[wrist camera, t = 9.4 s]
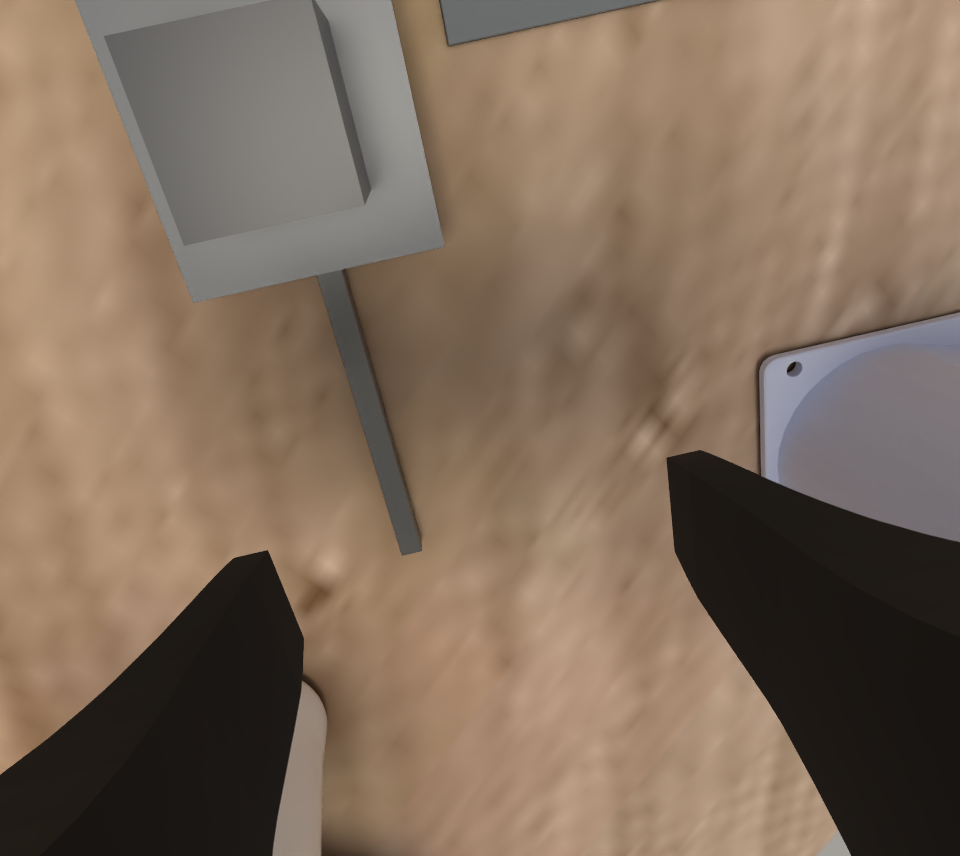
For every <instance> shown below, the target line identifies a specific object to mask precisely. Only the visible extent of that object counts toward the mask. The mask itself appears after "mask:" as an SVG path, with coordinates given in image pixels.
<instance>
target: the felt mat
mask: <svg viewBox="0 0 960 856" xmlns="http://www.w3.org/2000/svg"><path fill="white" fill-rule="evenodd" d="M439 1H440V7H441V12H442V17H443V22H444V28H445V33H446V38H447V43H448V46H453V45H458V44H462V43H467V42H471V41H476V40H481V39H485V38H490V37H494V36H499V35H503V34H508V33H513V32H517V31H522V30H526V29H531V28H536V27H540V26H545V25H549V24H554V23H559V22H563V21H568V20H572V19H577V18H582V17H586V16H591V15H595V14H600V13H604V12H609V11H614V10H618V9H623V8H627V7H632V6H637V5H641V4H646V3H650V2H655V1H660V0H439Z"/></svg>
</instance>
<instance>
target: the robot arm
mask: <svg viewBox="0 0 960 856" xmlns="http://www.w3.org/2000/svg"><path fill="white" fill-rule="evenodd" d="M793 362H796V365H795V368H794V369H793V370H792V371H791V372H789V373H787V367H788V366H789V365H790V364H791V363H793ZM759 383H760V439H761V476H760V475H758V474H755V473H753V472H751V471H749V470H746V469H744V468H742V467H740V466H737V465H735V464H733V463H731V462H728V461H726V460H724V459H722V458H719V457H717V456H714V455H712V454H709V453H707V452H704V451H701V450H698V451H694V452H689V453H685V454H681V455H677V456H672V457H668V458H667V469H668V480H669V492H670V503H671V515H672V526H673V537H674V549H675V553H676V555H677V557H678V559H679V561H680V563H681V565H682V568H683V570H684V572H685V574H686V576H687V578H688V580H689V582H690V584H691V586H692V588H693V589H694V591H695V593H696V595H697V597H698V599H699V600H700V602H701V603H702V605H703V606H704V608H705V609H706V611H707V612H708V614H709V615H710V617H711V618H712V620H713V621H714V623H715V624H716V626H717V627H718V629H719V630H720V632H721V633H722V635H723V636H724V638H725V639H726V641H727V642H728V643H729V645H730V646H731V648H732V649H733V651H734V652H735V654H736V655H737V657H738V658H739V660H740V661H741V662H742V664H743V665H744V667H745V668H746V670H747V671H748V673H749V674H750V676H751V677H752V679H753V680H754V681H755V683H756V684H757V686H758V687H759V689H760V690H761V692H762V693H763V695H764V696H765V698H766V699H767V701H768V702H769V704H770V705H771V707H772V709H773V710H774V712H775V713H776V715H777V717H778V718H779V720H780V721H781V723H782V725H783V727H784V728H785V730H786V732H787V734H788V736H789V738H790V740H791V741H792V743H793V745H794V747H795V749H796V751H797V752H798V754H799V756H800V758H801V760H802V762H803V763H804V765H805V767H806V769H807V771H808V773H809V774H810V776H811V778H812V780H813V782H814V784H815V786H816V788H817V790H818V792H819V794H820V795H821V797H822V799H823V801H824V803H825V805H826V807H827V809H828V811H829V813H830V815H831V817H832V819H833V820H834V822H835V824H836V826H837V828H838V830H839V832H840V834H841V836H842V838H843V840H844V842H845V844H846V846H847V848H848V850H849V852H850V854H851V856H960V312H959V313H955V314H950V315H946V316H942V317H937V318H933V319H929V320H924V321H920V322H915V323H911V324H907V325H902V326H898V327H894V328H889V329H885V330H881V331H876V332H872V333H867V334H863V335H859V336H854V337H850V338H846V339H841V340H837V341H833V342H828V343H824V344H819V345H815V346H811V347H806V348H802V349H798V350H793V351H789V352H785V353H780V354H776V355H773V356H770V357H768V358H767V359H766V360H765V361H764V362H763V363H762V365H761V367H760V371H759ZM303 650H304V637H303V635H302V632H301V630H300V628H299V625H298V623H297V620H296V618H295V615H294V613H293V610H292V608H291V606H290V603H289V601H288V598H287V596H286V593H285V591H284V588H283V586H282V584H281V581H280V579H279V576H278V574H277V571H276V569H275V566H274V564H273V561H272V559H271V557H270V554H269V552H268V550H267V551H262V552H258V553H254V554H249V555H245V556H241V557H236V558H233V559H232V560H231V561H230V562H229V563H228V564H227V565H226V566H225V567H224V568H223V569H222V570H221V571H220V572H219V573H218V574H217V575H216V576H215V577H214V578H213V579H212V580H211V581H210V582H209V583H208V584H207V586H206V587H205V588H204V589H203V590H202V591H201V592H200V593H199V594H198V595H197V596H196V597H195V598H194V600H193V601H192V602H191V603H190V604H189V605H188V606H187V607H186V608H185V609H184V610H183V611H182V612H181V613H180V615H179V616H178V617H177V618H176V619H175V620H174V621H173V622H172V623H171V624H170V625H169V626H168V627H167V628H166V630H165V631H164V632H163V633H162V634H161V635H160V636H159V637H158V638H157V639H156V640H155V641H154V642H153V643H152V644H151V645H150V646H149V647H148V648H147V649H146V650H145V651H144V652H143V653H142V654H141V655H140V656H139V657H138V658H137V659H136V660H135V661H134V662H133V663H132V664H131V665H130V666H129V667H128V668H127V669H126V670H125V671H124V672H123V673H122V674H121V675H120V676H119V677H118V678H117V679H116V680H115V681H114V682H112V683H111V684H110V685H109V686H108V687H107V688H106V689H105V690H104V691H103V692H102V693H101V694H99V695H98V696H97V697H96V698H95V699H94V700H93V701H92V702H91V703H89V704H88V705H87V706H86V707H85V708H84V709H83V710H81V711H80V712H79V713H78V714H77V715H75V716H74V717H73V718H72V719H71V720H70V721H68V722H67V723H66V724H65V725H64V726H62V727H61V728H60V729H59V730H58V731H57V732H55V733H54V734H53V735H52V736H50V737H49V738H48V739H47V740H45V741H44V742H43V743H42V744H40V745H39V746H38V747H36V748H35V749H34V750H32V751H31V752H30V753H28V754H27V755H26V756H25V757H23V758H22V759H21V760H19V761H18V762H17V763H15V764H14V765H13V766H11V767H10V768H9V769H7V770H6V771H5V772H3V773H2V774H1V775H0V856H273V845H274V838H275V832H276V825H277V818H278V813H279V807H280V802H281V797H282V792H283V787H284V781H285V776H286V771H287V766H288V761H289V755H290V750H291V745H292V740H293V735H294V729H295V724H296V719H297V713H298V708H299V702H300V696H301V689H302V673H303Z"/></svg>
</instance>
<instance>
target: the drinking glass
mask: <svg viewBox="0 0 960 856" xmlns="http://www.w3.org/2000/svg"><path fill="white" fill-rule="evenodd" d="M326 738H327V716H326V711H325V708H324V706H323V703H322V701H321V699H320V698H319V696H318V695H317V693H316V692H315V691H314V690H313V689H312V688H311V687H310V686H309V685H308V684H307V683H305V682H304V681H302V689H301V696H300V702H299V708H298V713H297V719H296V724H295V729H294V735H293V740H292V745H291V750H290V755H289V761H288V766H287V771H286V776H285V781H284V787H283V792H282V797H281V802H280V807H279V813H278V818H277V825H276V832H275V838H274V845H273V856H321V848H322V802H323V767H324V755H325V746H326Z"/></svg>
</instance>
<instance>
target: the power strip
mask: <svg viewBox="0 0 960 856" xmlns="http://www.w3.org/2000/svg"><path fill="white" fill-rule="evenodd" d="M75 2H76V4H77V7H78V10H79V12H80V15H81V17H82V20H83V22H84V25H85V27H86V30H87V33H88V35H89V38H90V40H91V43H92V45H93V48H94V50H95V53H96V56H97V58H98V61H99V63H100V66H101V68H102V71H103V74H104V76H105V79H106V81H107V84H108V86H109V89H110V91H111V94H112V97H113V99H114V102H115V104H116V107H117V109H118V112H119V114H120V117H121V120H122V122H123V125H124V127H125V130H126V132H127V135H128V137H129V140H130V143H131V145H132V148H133V150H134V153H135V155H136V158H137V160H138V163H139V166H140V168H141V171H142V173H143V176H144V178H145V181H146V183H147V186H148V189H149V191H150V194H151V196H152V199H153V201H154V204H155V206H156V209H157V212H158V214H159V217H160V219H161V222H162V224H163V227H164V229H165V232H166V235H167V237H168V240H169V242H170V245H171V247H172V250H173V253H174V255H175V258H176V260H177V263H178V265H179V268H180V270H181V273H182V276H183V278H184V281H185V283H186V286H187V288H188V291H189V293H190V296H191V299H192V301H193V303H195V302H200V301H204V300H209V299H213V298H217V297H222V296H226V295H231V294H235V293H240V292H244V291H249V290H253V289H258V288H262V287H267V286H271V285H276V284H280V283H284V282H289V281H293V280H298V279H302V278H307V277H311V276H316V275H317V278H318V282H319V285H320V288H321V291H322V295H323V298H324V301H325V305H326V308H327V311H328V314H329V318H330V321H331V324H332V328H333V331H334V334H335V337H336V341H337V344H338V347H339V351H340V354H341V357H342V360H343V364H344V367H345V370H346V374H347V377H348V380H349V383H350V387H351V390H352V393H353V397H354V400H355V403H356V407H357V410H358V413H359V416H360V420H361V423H362V426H363V430H364V433H365V436H366V439H367V443H368V446H369V449H370V453H371V456H372V459H373V462H374V466H375V469H376V472H377V476H378V479H379V482H380V485H381V489H382V492H383V495H384V499H385V502H386V505H387V508H388V512H389V515H390V518H391V522H392V525H393V528H394V531H395V535H396V538H397V541H398V545H399V548H400V551H401V555H402V556H403V555H407V554H411V553H416V552H420V551H422V543H421V537H420V533H419V530H418V526H417V523H416V519H415V516H414V512H413V509H412V505H411V502H410V498H409V495H408V491H407V488H406V484H405V480H404V477H403V473H402V470H401V466H400V463H399V459H398V456H397V452H396V449H395V445H394V442H393V438H392V435H391V431H390V428H389V424H388V421H387V417H386V414H385V410H384V407H383V403H382V400H381V396H380V393H379V389H378V386H377V382H376V379H375V375H374V372H373V368H372V365H371V361H370V358H369V354H368V351H367V347H366V344H365V340H364V337H363V333H362V330H361V326H360V323H359V319H358V316H357V312H356V309H355V305H354V302H353V298H352V294H351V291H350V287H349V284H348V280H347V277H346V273H345V270H344V269H347V268H351V267H356V266H360V265H365V264H369V263H374V262H378V261H383V260H387V259H392V258H396V257H401V256H405V255H410V254H414V253H419V252H423V251H427V250H432V249H436V248H441V247H445V246H444V241H443V237H442V232H441V227H440V223H439V218H438V214H437V209H436V204H435V200H434V195H433V190H432V186H431V181H430V177H429V172H428V167H427V163H426V158H425V154H424V149H423V144H422V140H421V135H420V131H419V126H418V121H417V117H416V112H415V108H414V103H413V98H412V94H411V89H410V84H409V80H408V75H407V71H406V66H405V61H404V57H403V52H402V48H401V43H400V38H399V34H398V29H397V25H396V20H395V15H394V11H393V6H392V2H391V0H75Z"/></svg>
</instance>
